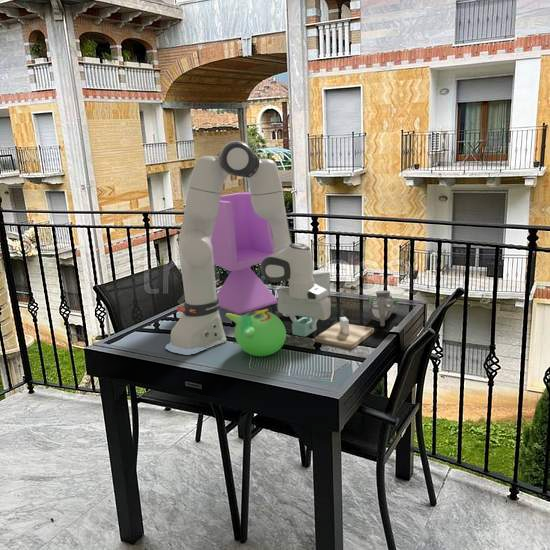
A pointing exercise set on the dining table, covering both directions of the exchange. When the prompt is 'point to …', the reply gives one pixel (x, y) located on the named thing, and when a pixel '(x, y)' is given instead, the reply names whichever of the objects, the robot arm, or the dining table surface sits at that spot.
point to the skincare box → (323, 280)
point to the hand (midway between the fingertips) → (304, 327)
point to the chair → (241, 254)
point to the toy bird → (259, 332)
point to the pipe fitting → (374, 312)
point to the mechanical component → (382, 306)
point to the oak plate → (344, 336)
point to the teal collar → (302, 327)
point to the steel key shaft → (344, 325)
